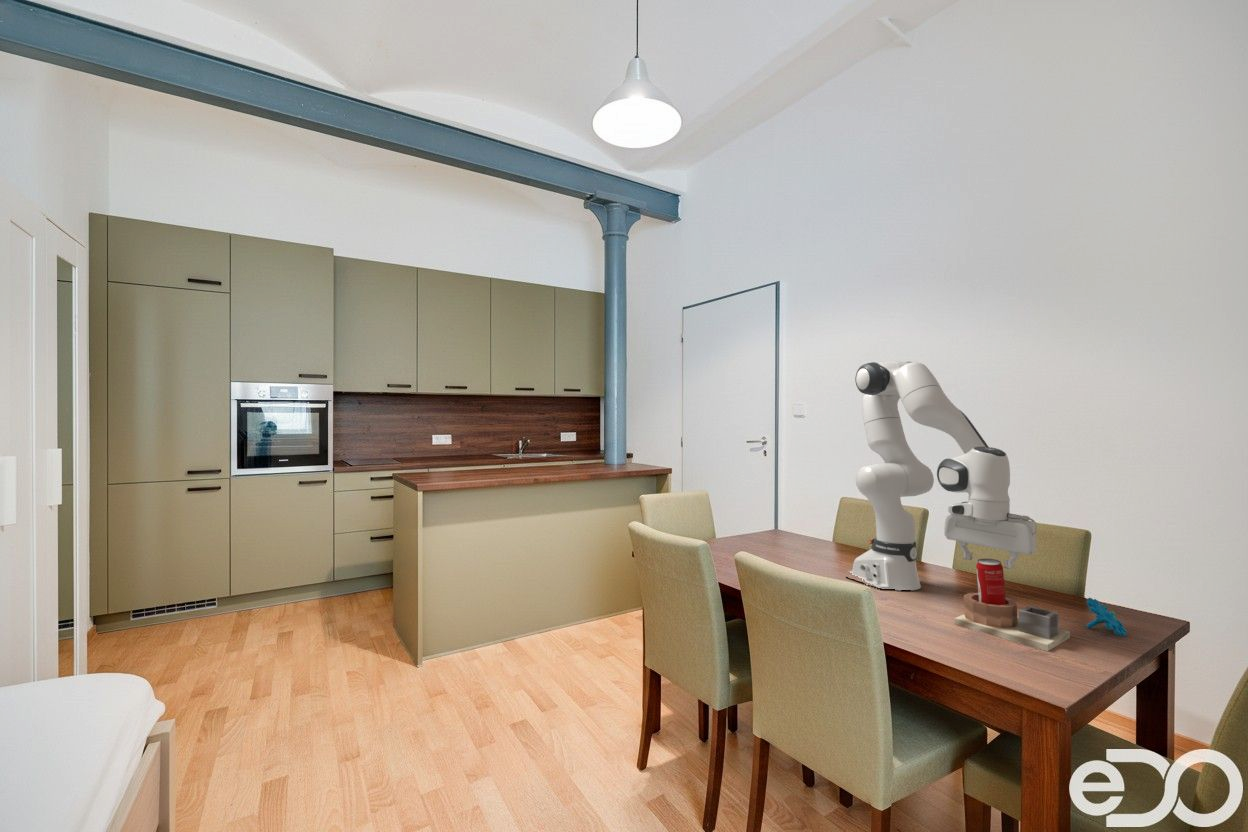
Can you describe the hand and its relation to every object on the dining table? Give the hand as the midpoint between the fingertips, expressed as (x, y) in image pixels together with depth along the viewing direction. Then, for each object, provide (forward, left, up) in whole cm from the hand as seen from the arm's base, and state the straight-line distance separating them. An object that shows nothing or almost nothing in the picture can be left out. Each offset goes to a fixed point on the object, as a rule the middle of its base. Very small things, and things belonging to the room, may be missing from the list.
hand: (987, 563), depth 140 cm
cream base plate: (+5, 0, -16) cm, 16 cm away
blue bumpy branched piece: (+19, +19, -16) cm, 31 cm away
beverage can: (+1, 0, -14) cm, 14 cm away
